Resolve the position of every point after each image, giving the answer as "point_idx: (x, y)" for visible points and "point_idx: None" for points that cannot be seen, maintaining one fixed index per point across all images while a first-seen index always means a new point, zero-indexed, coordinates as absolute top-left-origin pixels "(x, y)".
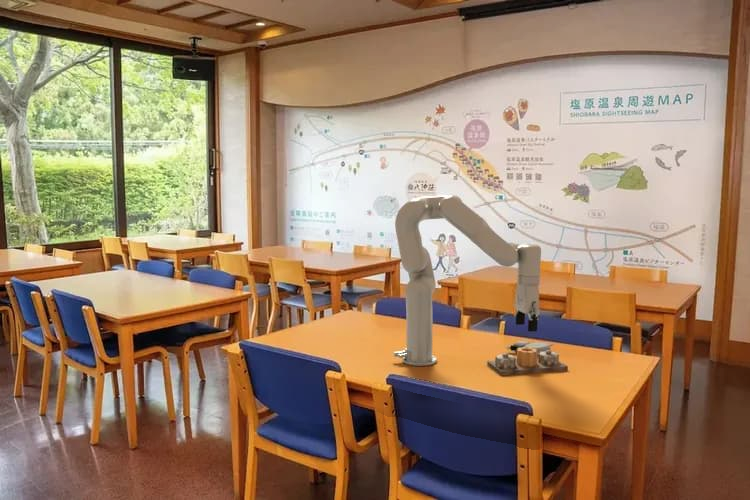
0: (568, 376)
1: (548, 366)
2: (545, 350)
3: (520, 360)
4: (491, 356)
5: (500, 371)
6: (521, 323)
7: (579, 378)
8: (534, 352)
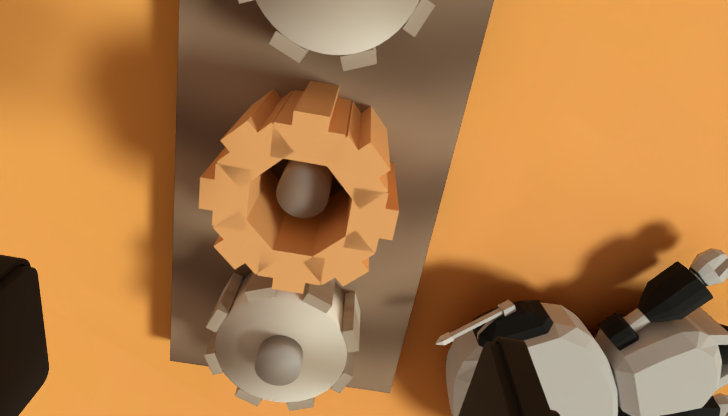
0: (68, 279)
1: (196, 257)
2: (451, 411)
3: (288, 99)
4: (699, 67)
5: None
6: (467, 412)
7: None
8: (222, 231)
